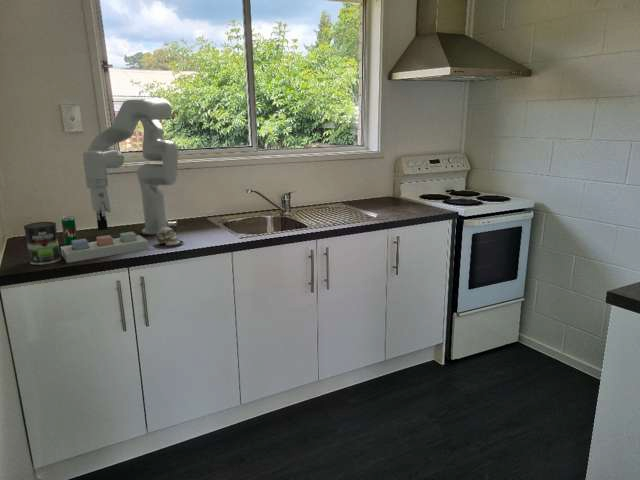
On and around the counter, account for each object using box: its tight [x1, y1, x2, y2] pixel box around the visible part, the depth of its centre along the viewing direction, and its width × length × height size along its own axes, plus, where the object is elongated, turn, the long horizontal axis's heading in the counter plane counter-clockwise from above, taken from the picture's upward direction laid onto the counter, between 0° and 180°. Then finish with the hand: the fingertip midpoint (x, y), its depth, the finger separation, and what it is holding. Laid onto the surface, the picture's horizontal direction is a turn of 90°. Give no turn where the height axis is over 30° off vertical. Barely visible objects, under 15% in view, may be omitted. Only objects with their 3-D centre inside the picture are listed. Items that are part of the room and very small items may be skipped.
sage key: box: [119, 231, 137, 243], centre depth 190 cm, size 5×5×4 cm
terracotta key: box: [95, 234, 114, 247], centre depth 185 cm, size 5×5×4 cm
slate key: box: [71, 238, 89, 251], centre depth 179 cm, size 5×5×4 cm
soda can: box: [60, 215, 78, 246], centre depth 195 cm, size 5×5×12 cm
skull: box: [153, 226, 184, 248], centre depth 196 cm, size 12×10×10 cm
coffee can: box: [23, 221, 62, 266], centre depth 173 cm, size 10×10×14 cm
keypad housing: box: [60, 234, 150, 264], centre depth 185 cm, size 30×12×4 cm, turn 127°
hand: (102, 229), depth 183 cm, fingers closed
